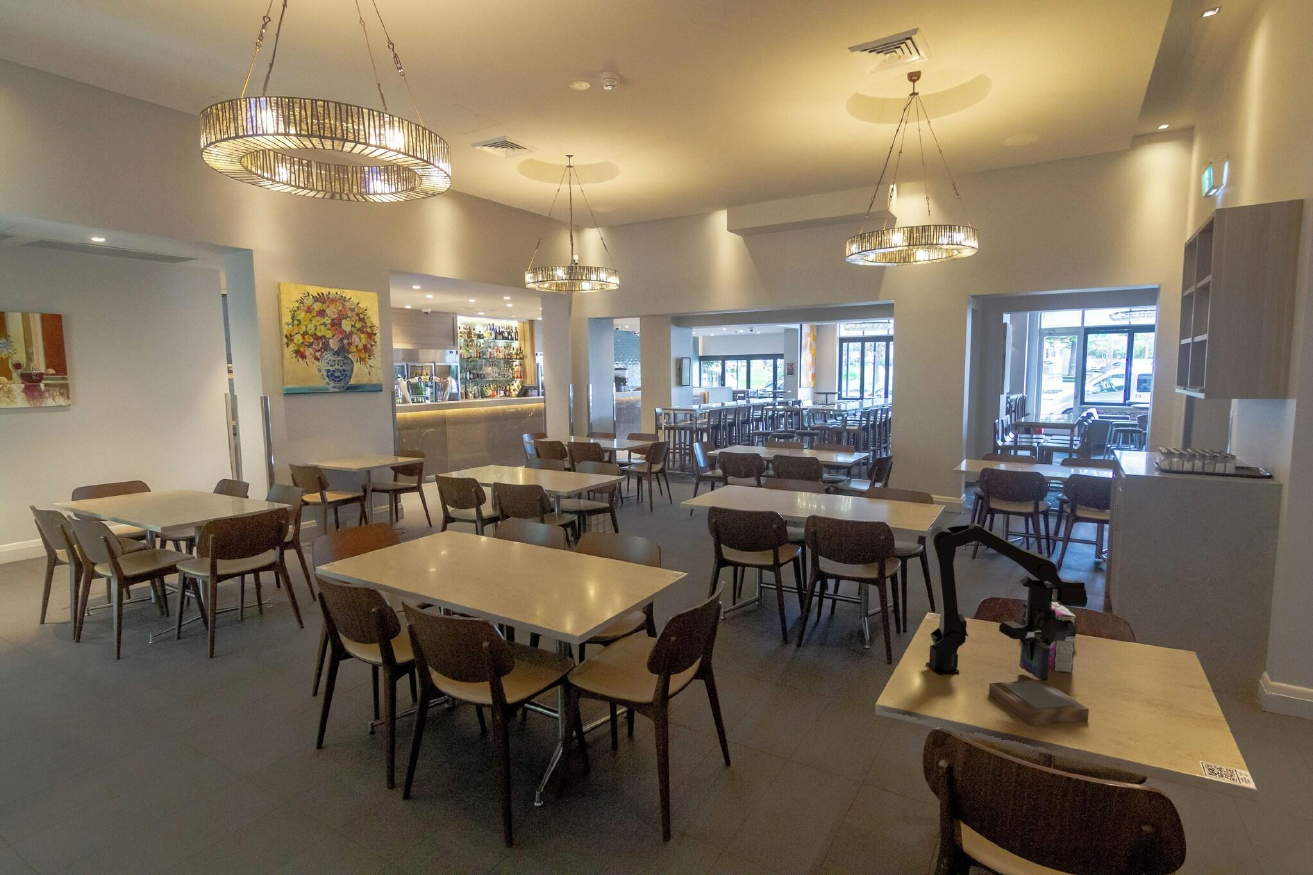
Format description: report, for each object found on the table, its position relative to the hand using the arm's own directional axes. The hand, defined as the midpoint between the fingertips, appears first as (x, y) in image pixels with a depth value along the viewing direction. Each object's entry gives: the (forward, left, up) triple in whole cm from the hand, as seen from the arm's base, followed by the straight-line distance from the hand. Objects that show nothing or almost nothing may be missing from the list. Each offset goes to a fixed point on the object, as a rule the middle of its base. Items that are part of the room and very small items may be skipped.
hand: (1035, 659), depth 175 cm
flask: (0, 0, -4) cm, 4 cm away
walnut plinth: (-10, -14, -6) cm, 18 cm away
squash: (+23, +23, -6) cm, 33 cm away
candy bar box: (+13, +8, -6) cm, 16 cm away
